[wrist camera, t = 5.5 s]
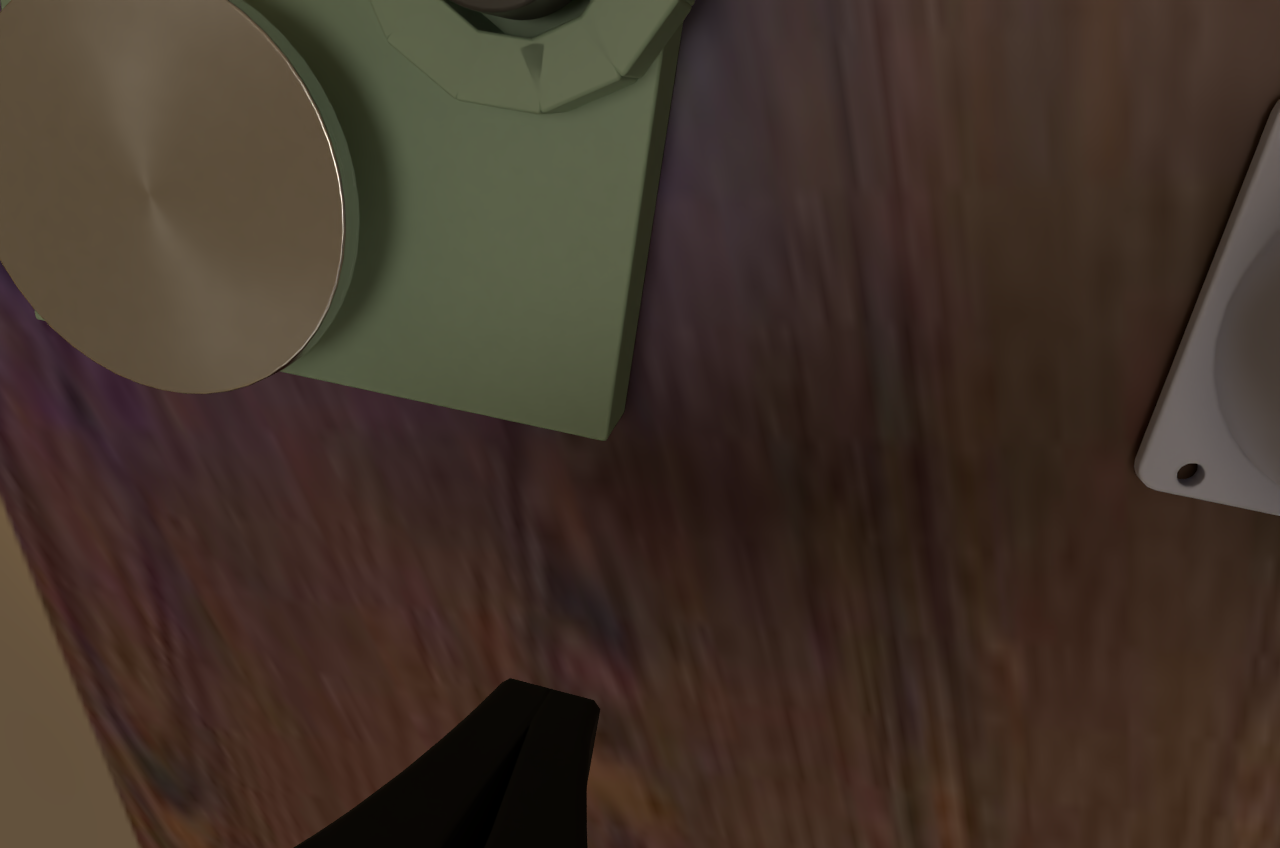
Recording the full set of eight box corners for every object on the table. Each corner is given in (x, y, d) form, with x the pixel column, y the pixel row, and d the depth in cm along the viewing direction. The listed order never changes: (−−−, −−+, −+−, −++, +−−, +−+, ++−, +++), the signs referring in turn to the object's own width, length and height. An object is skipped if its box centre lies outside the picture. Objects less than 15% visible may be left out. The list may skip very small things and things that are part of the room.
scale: (743, -207, 16) (723, -282, 13) (642, 418, 21) (609, 476, 18) (44, -289, 18) (-125, -373, 15) (95, 302, 23) (-27, 336, 19)
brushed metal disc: (367, -3, 15) (350, -7, 15) (355, 420, 18) (340, 430, 18) (-36, -66, 16) (-66, -72, 16) (14, 345, 19) (-10, 352, 19)
